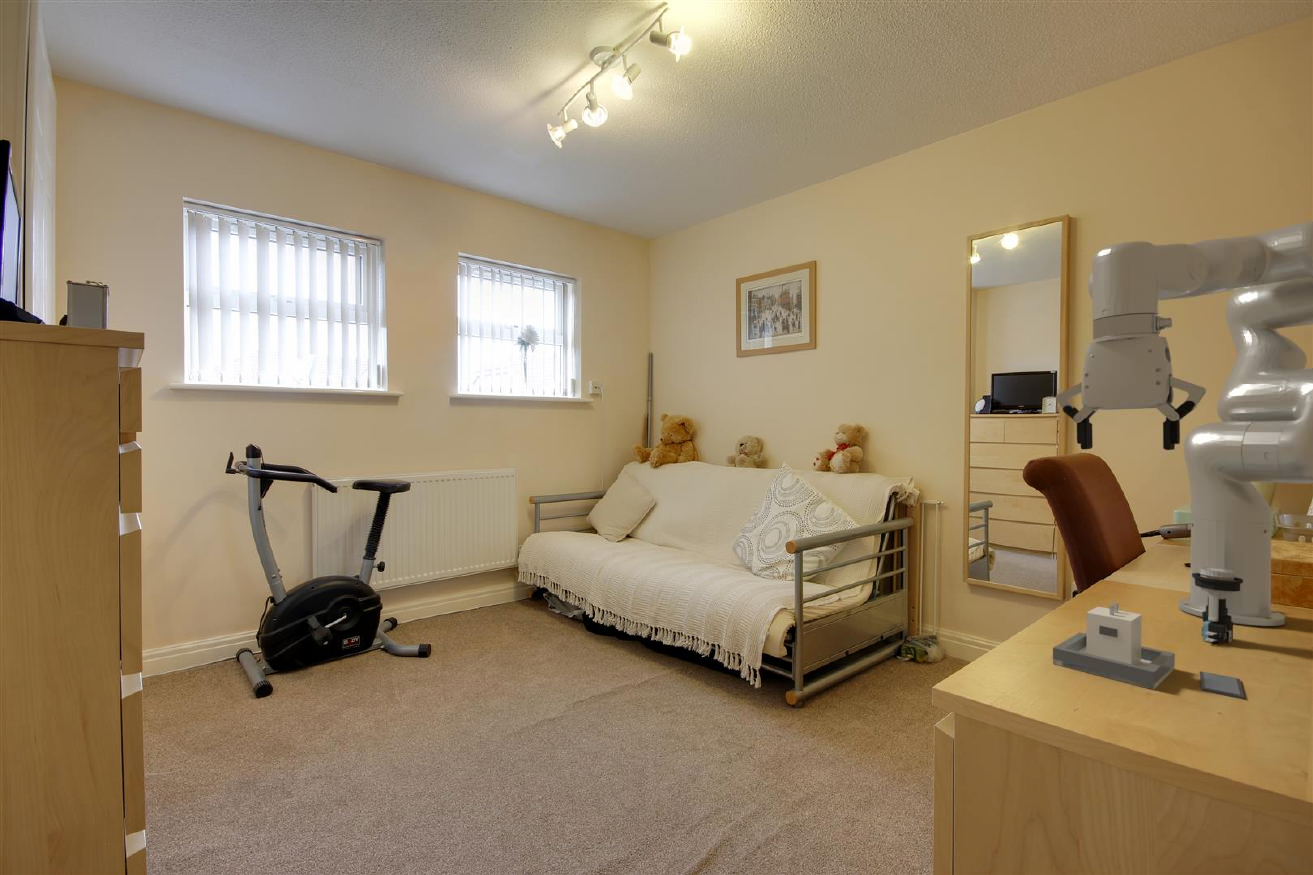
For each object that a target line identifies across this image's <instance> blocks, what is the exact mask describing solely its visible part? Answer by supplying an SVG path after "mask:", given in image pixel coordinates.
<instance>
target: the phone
mask: <svg viewBox="0 0 1313 875" xmlns="http://www.w3.org/2000/svg"><path fill="white" fill-rule="evenodd" d="M1199 678H1200V679H1199V680H1200V690H1201V692H1206V693H1211V694H1216V695H1220V696H1224V697H1230V698H1235V699H1239V700H1246V699H1245V694H1244V690H1243V687H1242V682H1241V679H1240V678H1237V677H1232V676H1226V675H1221V674H1218V673H1217V674H1216V673H1213V672H1212V673H1211V672H1206V671H1205V672H1204V671H1199Z"/></svg>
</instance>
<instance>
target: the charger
mask: <svg viewBox="0 0 1313 875" xmlns="http://www.w3.org/2000/svg"><path fill="white" fill-rule="evenodd" d="M1086 634H1087V639H1086V653H1087V654H1091V655H1095V656H1099V657H1104V658H1108V659H1112V660H1116V661H1120V662H1124V663H1129V664H1133V665H1137V666H1138V665H1139V664H1140V663H1141V646H1142V614H1140V613H1134V612H1130V611H1125V610H1120V609H1119V602H1117V601H1114V603H1113V604H1110V605H1109V608H1108V607H1102V606H1096V607H1095V608H1093V609H1091V610H1089V611H1087V612H1086Z"/></svg>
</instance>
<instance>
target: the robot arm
mask: <svg viewBox="0 0 1313 875" xmlns="http://www.w3.org/2000/svg"><path fill="white" fill-rule="evenodd" d="M1087 280H1088V281H1087V290H1088V294H1089V297H1090V298H1091V300H1092V306H1091V307H1092V342H1090V343H1087V346H1086V350H1085V354H1084V355H1085V356H1084V359H1083V360H1084V361H1083V368H1082V376H1081V382H1080V383H1078V384H1076V385H1074V386H1071V387H1069V388H1068V389H1065V390H1064V391H1061V392H1059V393H1058V394H1056V395H1055V400H1056V401H1057V404H1059V406H1060V407H1061V408H1062V412H1063V413H1064V414H1066V415H1067V416H1068V417H1069V418H1070V419H1072V421H1073V422H1075V423H1076V443H1077V444H1078V445H1080V450H1091V449H1093V423H1092V422H1090V419H1091V418H1092V417H1093V416H1094V415H1095V414H1096V413H1097V412H1098V410H1136V409H1137V410H1139V409H1141V410H1142V409H1157V410H1158V411H1159V412H1160V413H1162V415H1163V416H1165V421H1163V422H1162V449H1163V450H1165V451H1171V450H1173V451H1174V450H1175V446H1176V445H1180V443H1181V429H1180V428H1181V422H1180V421H1182V420H1183V419H1184V418H1185V417H1186V416H1187V415H1188V414H1190V413H1191V412H1192V411H1193V410H1195V409H1196V408H1197V406H1198V404H1199V403H1200V402H1201V400H1202V399H1203V397H1204V395H1205V394H1206V393H1207V388H1205V387H1204V386H1201V385H1197V384H1195V383H1192V382H1189V381H1186V380H1183V379H1179V378H1177V377H1173V367H1172V358H1171V353H1170V347H1169V343H1168V340H1167V337H1165V336H1160V334H1161V332H1162V330H1165V329H1168V328H1172V326H1173V319H1172V317H1161V316H1160V315H1159V301H1160V302H1161V301H1166V300H1167V301H1168V300H1177V299H1178V300H1180V299H1188V298H1196V297H1201V296H1208V295H1214V294H1218V293H1219V294H1220V293H1225V292H1231V291H1232V292H1233V291H1234V292H1233V293H1232V294H1231V295H1230V296H1229V297H1228V299H1227V301H1226V304H1225V310H1224V311H1225V318H1226V322H1227V326H1228V330H1229V332H1230V336H1231V338H1232V341H1233V344H1234V347H1235V351H1236V354H1237V356H1236V360H1235V362H1234V365H1233V367H1232V369H1231V371H1230V373H1229V376H1228V378H1227V380H1226V382H1225V383H1224V384H1225V385H1224V386H1223V388H1222V390H1221V393H1220V395H1219V398H1218V401H1217V405H1216V413H1217V415H1218V418H1219V419H1220V420H1221V421H1215V422H1210V423H1205V424H1202V425H1199V426H1197V427H1195V428H1193V429H1192V430H1191V431H1190V432H1188V434H1187V435H1186V437H1185V439H1184V441H1183V454H1184V460H1185V465H1186V469H1187V473H1188V479H1189V480H1188V481H1189V484H1190V485H1189V486H1190V509H1191V510H1190V512H1191V513H1190V583H1189V584H1190V590H1189V591H1190V596H1189V598H1188V597H1187V598H1181V599H1179V600H1178V601H1177V606H1178V608H1179V610H1181V611H1182V612H1185V613H1188V614H1190V615H1193V616H1197V617H1201V618H1202V612H1203V611H1206V606H1207V605H1208V596H1209V593H1208V592H1207V591H1205V590H1202V589H1201V587H1198V586H1196V585H1195V578H1193V577H1192V574H1193V573H1199V572H1201V568H1202V567H1211V568H1221V569H1227V570H1231V571H1234V576H1236V577H1237V578H1240V579H1243V583H1241V584H1240V591H1236V592H1234V593H1232V594H1225V599H1226V607H1227V608H1228V615H1230V616H1231V621H1233V624H1237V625H1238V624H1239V625H1244V626H1258V627H1259V626H1260V627H1278V626H1283V625H1284V624H1285V621H1286V617H1285V616H1284V615H1283V614H1282V613H1280V612H1278V611H1275V610H1272V609H1271V607H1272V606H1271V601H1272V599H1271V598H1272V595H1271V594H1272V593H1271V592H1272V582H1271V581H1272V523H1273V522H1272V520H1273V519H1272V518H1273V517H1272V510H1271V506H1270V505H1269V502H1268V501H1267V500H1266V498H1265V497H1264V496H1263V494H1262V493H1261V492H1260V491H1259V490H1258V489H1257V488H1256V487H1255V486H1254V485H1253V483H1252V482H1254V483H1255V482H1258V483H1259V482H1261V483H1262V482H1264V483H1282V484H1283V483H1284V484H1313V368H1312V367H1310V368H1306V366H1307V361H1308V360H1307V359H1308V357H1307V355H1306V353H1305V352H1304V350H1303V349H1302V348H1301V347H1300V346H1299V345H1298V344H1297V343H1296V342H1294V341H1293V340H1292V339H1290V338H1289V337H1287V336H1284V335H1283V334H1280V332H1279V331H1278V329H1285V328H1286V329H1287V328H1292V327H1301V326H1309V325H1313V221H1307V222H1301V223H1297V224H1293V225H1289V226H1283V227H1280V228H1276V229H1275V228H1274V229H1272V230H1267V231H1263V232H1258V233H1254V234H1249V235H1244V236H1236V237H1235V236H1233V237H1225V238H1213V239H1206V240H1202V241H1197V242H1194V243H1189V244H1187V243H1170V244H1169V243H1168V244H1153V243H1152V242H1149V241H1143V240H1142V241H1141V240H1136V241H1134V240H1133V241H1126V242H1121V243H1115V244H1112V245H1108V246H1106V247H1103V248H1101V249H1099V250H1097V252H1095V253H1094V255H1093V258H1092V264H1091V273H1090V275H1089V278H1088V279H1087ZM1174 389H1177V390H1181V391H1183V392H1186V393H1187V394H1188V396H1187V397H1186V400H1185V401H1184V402H1183V403H1181V404H1180V405H1179V406H1178V407H1175V406H1174V405H1173V404H1172V403H1174V398H1175V397H1174V396H1175V393H1174V392H1175V390H1174ZM1080 394H1081V404H1082V406H1083V407H1082V408H1081V409H1078V408H1076V407H1075V405H1073V404H1072V401H1071V399H1072V398H1074V397H1076V396H1078V395H1080Z"/></svg>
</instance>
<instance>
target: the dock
mask: <svg viewBox="0 0 1313 875" xmlns="http://www.w3.org/2000/svg"><path fill="white" fill-rule="evenodd" d="M1086 639H1087V633H1084V632H1077V633H1076V634H1074V635H1073V636H1071V637H1069V638H1067V639H1066V640H1064V641H1062V642H1061V643H1059V644H1057V645H1056V646H1053V647H1052V664H1053V665H1058V666H1060V667H1061V666H1062V667H1065V668H1069V669H1072V670H1077V671H1080V672H1084V673H1088V674H1091V675H1096V676H1099V677H1102V678H1107V679H1110V680H1115V681H1118V682H1122V683H1124V684H1125V683H1126V684H1130V685H1133V686H1137V687H1141V688H1146V689H1149V690H1153V691H1154V690H1156V688H1157V687H1158V686H1160V685H1161V684H1162V682H1163V681H1165V679H1166V678H1167V677H1168V676H1169V675H1170V674H1172V672H1174V670H1175V666H1176V664H1175V663H1176V661H1175V660H1176V658H1175V657H1176V654H1175V652H1171V651H1167V650H1161V649H1158V648H1152V647H1148V646H1143V645H1141V663H1140V664H1139V665H1138V666H1137V665H1133V664H1129V663H1124V662H1120V661H1116V660H1112V659H1108V658H1104V657H1099V656H1095V655H1091V654H1087V653H1086Z"/></svg>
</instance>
